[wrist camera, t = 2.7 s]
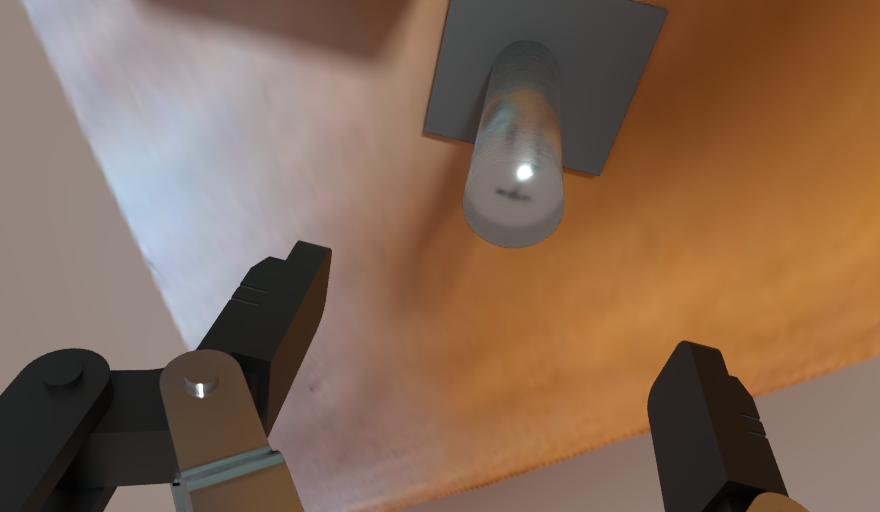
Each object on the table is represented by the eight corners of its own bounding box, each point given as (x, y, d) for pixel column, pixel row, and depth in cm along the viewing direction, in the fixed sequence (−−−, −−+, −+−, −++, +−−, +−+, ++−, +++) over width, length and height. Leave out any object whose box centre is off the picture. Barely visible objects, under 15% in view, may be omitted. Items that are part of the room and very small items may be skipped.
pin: (567, 49, 27) (578, 175, 17) (546, 112, 29) (546, 258, 19) (501, 32, 27) (475, 149, 17) (484, 96, 29) (452, 234, 19)
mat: (666, 9, 26) (667, 11, 25) (598, 172, 30) (599, 176, 30) (460, -44, 26) (459, -42, 25) (425, 127, 30) (423, 130, 30)
